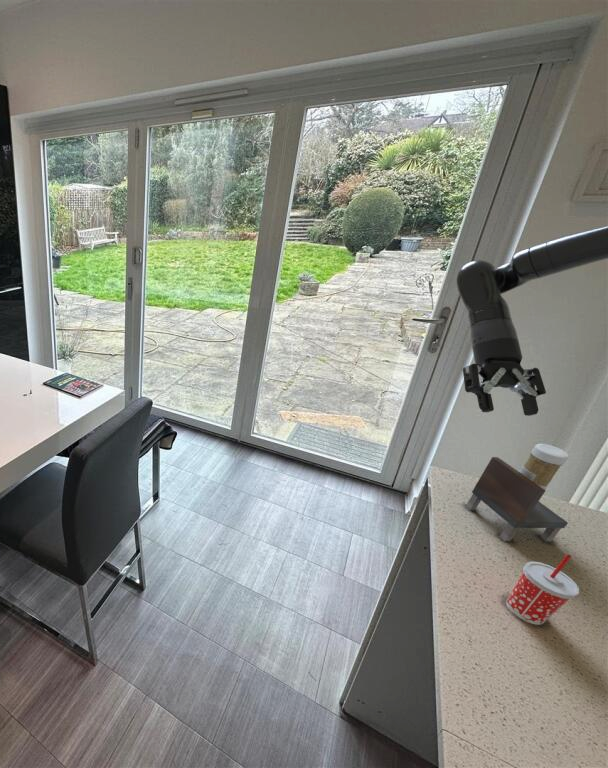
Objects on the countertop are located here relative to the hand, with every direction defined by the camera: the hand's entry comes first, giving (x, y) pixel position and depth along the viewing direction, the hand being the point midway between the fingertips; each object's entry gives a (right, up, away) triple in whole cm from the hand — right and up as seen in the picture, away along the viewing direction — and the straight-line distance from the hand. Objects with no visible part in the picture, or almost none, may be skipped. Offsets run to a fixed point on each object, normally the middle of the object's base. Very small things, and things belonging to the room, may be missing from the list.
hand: (509, 413), depth 87 cm
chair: (-2, -24, -1) cm, 24 cm away
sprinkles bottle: (-2, -18, -3) cm, 19 cm away
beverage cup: (-17, -32, -18) cm, 41 cm away
